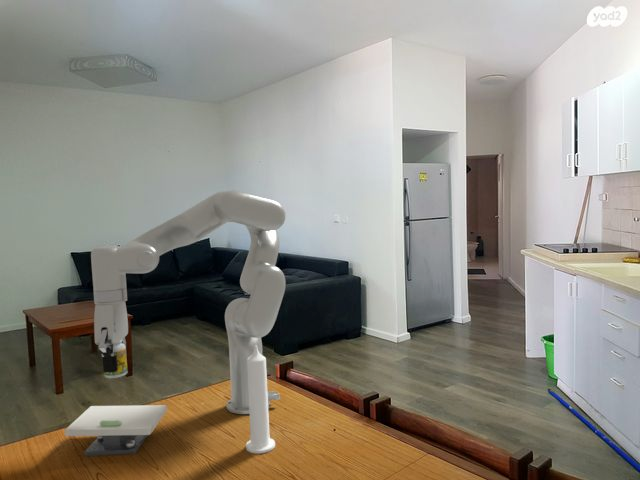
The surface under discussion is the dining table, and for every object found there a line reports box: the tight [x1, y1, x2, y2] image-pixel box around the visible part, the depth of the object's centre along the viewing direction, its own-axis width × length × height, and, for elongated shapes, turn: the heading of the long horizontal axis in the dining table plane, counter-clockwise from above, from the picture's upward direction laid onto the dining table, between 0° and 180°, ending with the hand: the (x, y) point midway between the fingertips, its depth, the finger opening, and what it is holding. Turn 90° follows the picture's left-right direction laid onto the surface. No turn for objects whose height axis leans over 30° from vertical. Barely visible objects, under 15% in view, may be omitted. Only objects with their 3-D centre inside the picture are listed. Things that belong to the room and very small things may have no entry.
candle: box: [245, 345, 276, 455], centre depth 118 cm, size 7×7×25 cm
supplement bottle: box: [103, 339, 129, 379], centre depth 123 cm, size 5×5×10 cm
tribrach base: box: [84, 435, 149, 457], centre depth 124 cm, size 12×13×4 cm
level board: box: [64, 404, 168, 437], centre depth 124 cm, size 20×14×3 cm
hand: (115, 367), depth 123 cm, fingers closed on supplement bottle, 5 cm apart
